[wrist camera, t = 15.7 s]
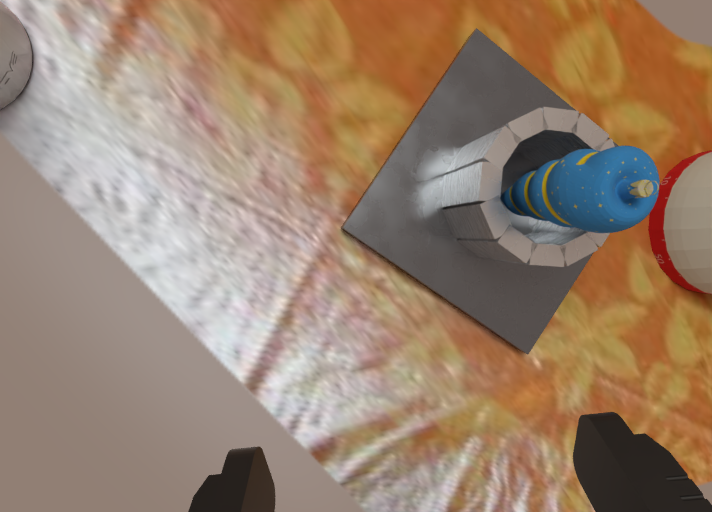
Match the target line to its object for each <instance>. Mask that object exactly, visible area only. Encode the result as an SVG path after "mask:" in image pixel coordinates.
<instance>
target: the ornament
mask: <svg viewBox="0 0 712 512" xmlns="http://www.w3.org/2000/svg"><path fill="white" fill-rule="evenodd" d="M658 193H659V175H658V171H657V168H656V166H655V164H654V162H653V160H652V159H651V158H650V156H649V155H648V154H646V153H645V152H644V151H642V150H641V149H639V148H636V147H632V146H617V147H612V148H609V149H606V150H603V151H598V150H594V149H580V150H576V151H574V152H571V153H569V154H567V155H566V156H564V157H563V158H562V159H558V160H553V161H549V162H547V163H546V164H544V165H542V166H541V167H540V168H539V169H538V170H535V171H531V172H528V173H526V174H525V175H523V176H522V177H521V178H519V179H518V180H517V181H516V182H515V183H514V184H513V185H512V186H510V187H509V188H508V189H507V190H506V191H505V192H504V193H503V194H501V196H500V199H501V201H502V202H503V203H504V205H505V206H506V207H507V209H509V210H510V211H511V212H512V213H514V214H516V215H520V216H529V217H532V218H534V219H537V220H542V221H549V222H551V223H553V224H556V225H559V226H562V227H568V228H579V229H582V230H584V231H588V232H594V233H613V232H618V231H622V230H625V229H628V228H630V227H632V226H634V225H636V224H638V223H639V222H641V221H642V220H643V219H644V218H645V217H646V216H647V215H648V214H649V213H650V212H651V210H652V209H653V207H654V205H655V203H656V200H657V197H658Z"/></svg>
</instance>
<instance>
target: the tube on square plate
mask: <svg viewBox="0 0 712 512" xmlns="http://www.w3.org/2000/svg"><path fill="white" fill-rule="evenodd" d="M608 137H609V135H608V134H607V133H606V132H605V131H604V130H602V129H601V128H600V127H599V126H598V125H596V124H595V123H594V122H593V121H592V120H590V119H589V118H588V117H587V116H586V115H584V114H583V113H580V114H579V111H576V110H575V109H573V108H572V107H571V106H570V105H569V104H567V103H566V102H565V101H564V100H563V99H561V98H560V97H559V96H558V95H556V94H555V93H554V92H553V91H552V90H550V89H549V88H548V87H547V86H546V85H544V84H543V83H542V82H541V81H540V80H538V79H537V78H536V77H535V76H534V75H532V74H531V73H530V72H529V71H527V70H526V69H525V68H524V67H523V66H521V65H520V64H519V63H518V62H517V61H515V60H514V59H513V58H512V57H511V56H509V55H508V54H507V53H506V52H504V51H503V50H502V49H501V48H500V47H498V46H497V45H496V44H495V43H494V42H492V41H491V40H490V39H489V38H488V37H486V36H485V35H484V34H483V33H482V32H480V31H479V30H478V29H477V28H476V29H475V31H474V32H473V33H472V34H471V35H470V36H469V37H468V39H467V40H466V42H465V43H464V45H463V46H462V48H461V49H460V51H459V52H458V54H457V55H456V57H455V58H454V60H453V61H452V63H451V64H450V66H449V67H448V69H447V70H446V72H445V73H444V75H443V76H442V78H441V79H440V81H439V82H438V84H437V85H436V87H435V88H434V90H433V91H432V93H431V94H430V96H429V97H428V98H427V100H426V101H425V103H424V104H423V106H422V107H421V109H420V110H419V112H418V113H417V115H416V116H415V118H414V119H413V121H412V122H411V124H410V125H409V127H408V128H407V130H406V131H405V133H404V134H403V136H402V137H401V139H400V140H399V142H398V143H397V145H396V146H395V148H394V149H393V151H392V152H391V154H390V155H389V157H388V158H387V160H386V161H385V163H384V164H383V166H382V167H381V169H380V170H379V171H378V173H377V174H376V176H375V177H374V179H373V180H372V182H371V183H370V185H369V186H368V188H367V189H366V191H365V192H364V194H363V195H362V197H361V198H360V200H359V201H358V203H357V204H356V206H355V207H354V209H353V210H352V212H351V213H350V215H349V216H348V218H347V219H346V221H345V222H344V224H343V225H342V227H341V229H343V230H344V231H346V232H347V233H349V234H350V235H352V236H353V237H355V238H356V239H358V240H359V241H360V242H362V243H363V244H365V245H366V246H368V247H369V248H371V249H372V250H374V251H375V252H377V253H378V254H379V255H381V256H382V257H384V258H385V259H387V260H388V261H390V262H391V263H393V264H394V265H396V266H397V267H398V268H400V269H401V270H403V271H404V272H406V273H407V274H409V275H410V276H412V277H413V278H415V279H416V280H418V281H419V282H420V283H422V284H423V285H425V286H426V287H428V288H429V289H431V290H432V291H434V292H435V293H437V294H438V295H439V296H441V297H442V298H444V299H445V300H447V301H448V302H450V303H451V304H453V305H454V306H456V307H457V308H458V309H460V310H461V311H463V312H464V313H466V314H467V315H469V316H470V317H472V318H473V319H475V320H476V321H477V322H479V323H480V324H482V325H483V326H485V327H486V328H488V329H489V330H491V331H492V332H494V333H495V334H496V335H498V336H499V337H501V338H502V339H504V340H505V341H507V342H508V343H510V344H511V345H513V346H514V347H515V348H517V349H518V350H520V351H522V352H524V353H526V354H529V352H530V351H531V349H532V348H533V346H534V344H535V343H536V341H537V340H538V338H539V337H540V335H541V333H542V332H543V330H544V329H545V327H546V326H547V324H548V323H549V321H550V319H551V318H552V316H553V315H554V313H555V312H556V310H557V309H558V307H559V305H560V304H561V302H562V301H563V299H564V298H565V296H566V295H567V293H568V291H569V290H570V288H571V287H572V285H573V284H574V282H575V281H576V279H577V277H578V276H579V274H580V273H581V271H582V270H583V268H584V267H585V265H586V263H587V262H588V260H589V259H590V257H591V256H592V254H593V253H594V252H595V251H597V250H598V248H597V247H601V246H602V245H603V243H604V242H605V240H606V238H607V237H608V235H609V234H610V233H594V232H588V231H584V230H582V229H579V228H568V227H562V226H559V225H556V224H553V223H551V222H549V221H542V220H537V219H534V218H532V217H529V216H520V215H516V214H514V213H512V212H511V211H510V210H509V209H507V207H506V206H505V205H504V203H503V202H502V201H501V199H500V196H501V194H503V193H504V192H505V191H506V190H507V189H508V188H509V187H510V186H512V185H513V184H514V183H515V182H516V181H517V180H518V179H519V178H521V177H522V176H523V175H525V174H526V173H528V172H531V171H535V170H538V169H539V168H540V167H541V166H542V165H544V164H546V163H547V162H549V161H553V160H558V159H562V158H563V157H564V156H566V155H567V154H569V153H571V152H574V151H576V150H580V149H594V150H598V151H603V150H606V149H609V148H612V147H617V146H618V145H617V144H616V143H615V142H613V141H612V138H611V139H610V138H608Z"/></svg>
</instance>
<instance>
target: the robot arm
mask: <svg viewBox="0 0 712 512" xmlns="http://www.w3.org/2000/svg"><path fill="white" fill-rule="evenodd" d="M31 68H32V50H31V45H30V40H29V38H28V36H27V33H26V31H25V29H24V27H23V25H22V24H21V22H20V21H19V20H18V18H17V17H16V15H15V14H14V13H13V12H12V11H11V10H9V9H8V8H7V7H6V6H5V5H4V4H3V3H2V2H0V109H2V108H4V107H5V106H7V105H8V104H9V103H11V102H12V101H14V100H15V98H16V97H17V96H18V95H19V94H20V93H21V92H22V90H23V89H24V87H25V85H26V83H27V81H28V79H29V76H30V72H31ZM573 462H574V467H575V471H576V474H577V477H578V479H579V481H580V484H581V485H582V487H583V489H584V491H585V493H586V495H587V497H588V499H589V500H590V502H591V504H592V506H593V508H594V510H595V512H712V505H711V504H710V502H709V501H708V500H707V499H704V497H703V494H702V492H701V491H700V490H699V488H698V487H697V486H696V485H695V483H694V482H693V481H692V480H691V479H689V478H688V476H687V473H686V472H685V471H684V470H683V468H682V467H681V466H680V465H679V463H678V462H677V461H676V460H675V458H674V457H673V456H672V455H671V453H670V452H669V451H668V450H666V449H665V448H664V447H662V446H661V445H660V444H658V443H657V442H656V441H654V440H653V439H652V438H650V437H649V436H648V435H646V434H635V435H634V434H633V433H632V431H631V430H630V429H629V427H628V426H627V425H626V423H625V422H624V421H623V419H622V418H621V417H620V416H619V415H618V414H617V413H615V412H608V413H598V414H588V415H581V416H580V418H579V422H578V428H577V434H576V440H575V446H574V452H573ZM274 509H275V487H274V483H273V479H272V476H271V473H270V471H269V468H268V465H267V462H266V459H265V456H264V453H263V450H262V448H261V447H251V448H241V449H232V450H230V451H229V452H228V454H227V457H226V460H225V463H224V467H223V470H222V473H221V474H217V475H209V476H208V477H207V479H206V480H205V481H204V483H203V485H202V486H201V487H200V488H199V490H198V491H197V493H196V494H195V495H194V497H193V500H192V503H191V506H190V509H189V512H274Z"/></svg>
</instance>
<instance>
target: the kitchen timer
mask: <svg viewBox="0 0 712 512" xmlns="http://www.w3.org/2000/svg"><path fill="white" fill-rule="evenodd" d="M649 235H650V241H651V247H652V251H653V253H654V255H655V257H656V259H657V261H658V264H659V266H660V268H661V269H662V270H663V271H664V272H665V273H666V274H667V275H668V276H669V278H670V279H671V280H672V281H673V282H675V283H677V284H679V285H680V286H682V287H684V288H685V289H687V290H691V291H696V292H701V293H707V294H712V151H707V152H702V153H698V154H696V155H694V156H691V157H689V158H687V159H684V160H682V161H681V162H680V163H679V164H678V165H676V166H675V167H674V168H673V169H672V170H671V171H669V172H668V174H667V175H666V177H665V178H664V180H663V181H662V183H661V184H660V186H659V193H658V197H657V200H656V203H655V205H654V207H653V209H652V210H651V212H650V217H649Z"/></svg>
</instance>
